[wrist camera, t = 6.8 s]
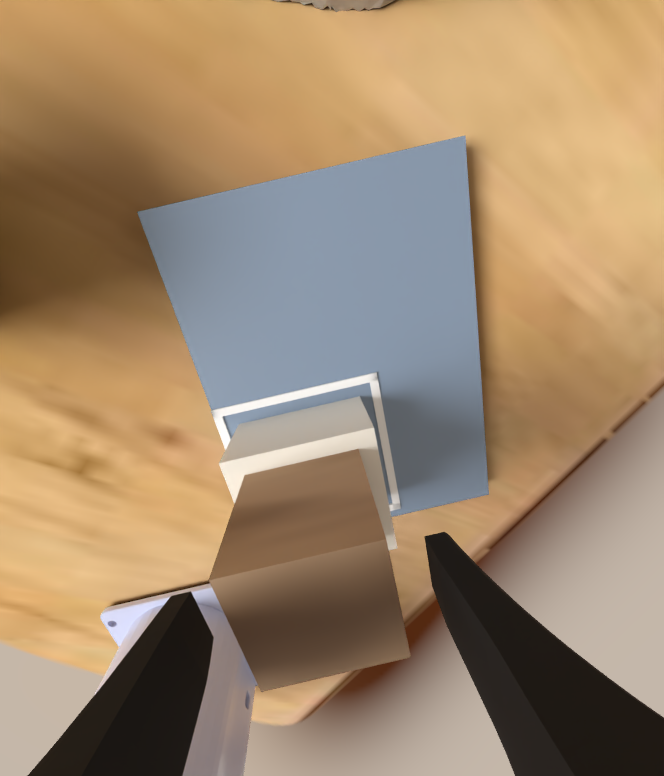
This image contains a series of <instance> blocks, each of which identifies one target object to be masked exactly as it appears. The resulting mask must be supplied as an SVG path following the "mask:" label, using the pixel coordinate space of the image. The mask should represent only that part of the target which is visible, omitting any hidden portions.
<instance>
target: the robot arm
mask: <svg viewBox="0 0 664 776" xmlns="http://www.w3.org/2000/svg"><path fill="white" fill-rule="evenodd" d="M425 542H426V549H427V555H428V562H429V568H430V574H431V581H432V587H433V589H434V592H435V595H436V598H437V600H438V603H439V605H440V608H441V611H442V614H443V616H444V619H445V622H446V624H447V627H448V629H449V631H450V633H451V635H452V637H453V640H454V642H455V644H456V646H457V648H458V650H459V652H460V654H461V656H462V659H463V661H464V663H465V665H466V667H467V669H468V671H469V673H470V675H471V678H472V680H473V682H474V684H475V686H476V688H477V690H478V692H479V694H480V697H481V699H482V701H483V703H484V705H485V707H486V709H487V712H488V714H489V716H490V718H491V720H492V722H493V724H494V726H495V729H496V731H497V733H498V735H499V738H500V740H501V742H502V744H503V747H504V749H505V751H506V754H507V756H508V759H509V761H510V764H511V766H512V769H513V771H514V774H515V776H664V718H663V717H662V716H660V715H659V714H658V713H656V712H655V711H653V710H652V709H651V708H649V707H647V706H646V705H645V704H643V703H642V702H640V701H639V700H638V699H636V698H635V697H634V696H632V695H631V694H629V693H628V692H627V691H625V690H624V689H623V688H621V687H620V686H619V685H617V684H616V683H615V682H613V681H612V680H611V679H609V678H608V677H607V676H605V675H604V674H603V673H601V672H600V671H599V670H597V669H596V668H595V667H593V666H592V665H591V664H590V663H588V662H587V661H586V660H585V659H583V658H582V657H581V656H579V655H578V654H577V653H575V652H574V651H573V650H572V649H571V648H569V647H568V646H567V645H566V644H564V643H563V642H562V641H561V640H559V639H558V638H557V637H556V636H555V635H553V634H552V633H551V632H550V631H549V630H547V629H546V628H545V627H544V626H542V624H540V623H539V622H538V621H537V620H536V619H535V618H533V617H532V616H531V615H530V614H529V613H528V612H526V611H525V610H524V609H523V608H522V607H521V606H520V605H519V604H517V603H516V602H515V601H514V600H513V599H512V598H511V597H510V596H509V595H508V594H507V593H506V592H505V591H503V590H502V589H501V588H500V587H499V586H498V585H497V584H496V583H495V582H494V581H493V580H492V579H491V578H490V577H489V576H488V575H486V573H484V572H483V571H482V570H481V569H480V568H479V566H477V564H476V563H475V562H474V561H473V560H472V559H471V558H470V557H469V556H468V555H467V554H466V553H465V552H464V551H463V550H462V549H461V548H460V547H459V546H458V545H457V543H456V542H455V541H454V540H453V539H452V538H451V537H450V536H449V534H447V533H445V532H442V533H438V534H433V535H429V536H425ZM100 618H101V620H102V622H103V623H104V625H105V626H106V628H107V629H108V631H109V632H110V634H111V636H112V637H113V639H114V640H115V642H116V643H117V645H118V646H119V649H118V651H117V653H116V654H115V656H114V658H113V660H112V662H111V664H110V666H109V668H108V670H107V672H106V673H105V675H104V677H103V679H102V681H101V683H100V685H99V687H98V689H97V691H96V693H95V694H94V697H93V698H92V699H91V700H90V702H89V703H88V704H87V705H86V706H85V708H84V709H83V710H82V711H81V713H80V714H79V715H78V716H77V717H76V719H75V720H74V721H73V723H72V724H71V725H70V726H69V727H68V729H67V730H66V731H65V732H64V734H63V735H62V736H61V738H59V740H58V741H57V742H56V743H55V744H54V746H53V747H52V748H51V749H50V750H49V752H48V753H47V754H46V755H45V756H44V757H43V759H42V760H41V761H40V762H39V763H38V764H37V766H36V767H35V768H34V769H33V770H32V771H31V772H30V774H29V775H28V776H243V774H244V768H245V760H246V753H247V745H248V738H249V731H250V723H251V716H252V708H253V701H254V693H255V686H257V685H258V684H257V682H256V680H255V678H254V675H253V673H252V671H251V669H250V667H249V665H248V663H247V661H246V658H245V656H244V654H243V652H242V650H241V648H240V646H239V644H238V641H237V639H236V637H235V635H234V633H233V631H232V629H231V627H230V625H229V622H228V620H227V618H226V616H225V614H224V612H223V610H222V608H221V605H220V603H219V601H218V599H217V597H216V595H215V593H214V591H213V588H212V586H211V584H205V585H201V586H197V587H192V588H188V589H184V590H179V591H175V592H171V593H166V594H162V595H158V596H153V597H149V598H145V599H140V600H136V601H132V602H127V603H123V604H119V605H114V606H110V607H107V608H105V609H104V610H103V612H102V614H101V616H100Z"/></svg>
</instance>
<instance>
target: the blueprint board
mask: <svg viewBox="0 0 664 776" xmlns="http://www.w3.org/2000/svg"><path fill="white" fill-rule="evenodd" d="M137 213H138V216H139V218H140V221H141V224H142V226H143V229H144V232H145V234H146V237H147V240H148V242H149V245H150V248H151V250H152V253H153V256H154V258H155V261H156V264H157V266H158V269H159V272H160V274H161V277H162V280H163V282H164V285H165V288H166V290H167V293H168V296H169V298H170V301H171V304H172V306H173V309H174V312H175V314H176V317H177V320H178V322H179V325H180V328H181V330H182V333H183V336H184V338H185V341H186V344H187V346H188V349H189V352H190V354H191V357H192V360H193V362H194V365H195V368H196V370H197V373H198V376H199V378H200V381H201V384H202V386H203V389H204V391H205V394H206V397H207V399H208V402H209V405H210V407H211V413H212V415H213V418H214V421H215V423H216V426H217V429H218V431H219V434H220V437H221V439H222V442H223V444H224V447H225V450H226V448H227V446H228V444H229V442H230V440H231V438H232V436H233V434H234V433H235V431H236V429H237V427H238V425H239V424H242V423H246V422H251V421H255V420H259V419H264V418H268V417H272V416H276V415H281V414H285V413H289V412H294V411H298V410H302V409H307V408H311V407H315V406H320V405H324V404H328V403H333V402H337V401H341V400H346V399H350V398H354V397H358V396H360V398H361V400H362V403H363V405H364V407H365V409H366V411H367V413H368V416H369V418H370V420H371V422H372V424H373V426H374V430H375V435H376V440H377V446H378V451H379V456H380V461H381V466H382V471H383V477H384V482H385V487H386V492H387V497H388V502H389V507H390V513H391V517H393V516H398V515H402V514H406V513H411V512H415V511H419V510H424V509H428V508H432V507H437V506H441V505H445V504H450V503H454V502H458V501H463V500H467V499H471V498H476V497H480V496H484V495H488V494H489V490H488V475H487V460H486V444H485V429H484V414H483V399H482V383H481V368H480V353H479V337H478V322H477V307H476V292H475V276H474V261H473V246H472V231H471V215H470V200H469V185H468V170H467V154H466V139H465V136H461V137H457V138H453V139H448V140H444V141H440V142H435V143H431V144H427V145H423V146H418V147H414V148H410V149H405V150H401V151H397V152H392V153H388V154H384V155H380V156H375V157H371V158H367V159H362V160H358V161H354V162H349V163H345V164H341V165H337V166H332V167H328V168H324V169H319V170H315V171H311V172H306V173H302V174H298V175H294V176H289V177H285V178H281V179H276V180H272V181H268V182H263V183H259V184H255V185H251V186H246V187H242V188H238V189H233V190H229V191H225V192H220V193H216V194H212V195H208V196H203V197H199V198H195V199H190V200H186V201H182V202H177V203H173V204H169V205H165V206H160V207H156V208H152V209H147V210H143V211H139V212H137Z"/></svg>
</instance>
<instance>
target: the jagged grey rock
mask: <svg viewBox="0 0 664 776" xmlns="http://www.w3.org/2000/svg"><path fill="white" fill-rule="evenodd" d="M274 1H277V2H279V1H286V0H274ZM290 1H292V2H300V3H302V4H303V5H305V4H309V3H312V4H313V5H314V7H315V8H318V9H322V10H323V9H324V8H325V7H326V6H328V7H329V9H330V10H331V6H332V8H333V9H334V10H335V12H338V11H347V10H350V9H352V8H353V9H355V10H357V11H361V10H362V9H364V8H366V9H367V10H368V11H369V10H370V9H372V8H381V7H383V6H385V5H387V4H389V3H391V2H393V1H395V0H290Z"/></svg>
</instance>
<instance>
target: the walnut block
mask: <svg viewBox="0 0 664 776" xmlns="http://www.w3.org/2000/svg"><path fill="white" fill-rule="evenodd" d="M209 582H210V584H211V586H212V588H213V591H214V593H215V595H216V597H217V599H218V601H219V603H220V605H221V608H222V610H223V612H224V614H225V616H226V618H227V620H228V622H229V625H230V627H231V629H232V631H233V633H234V635H235V637H236V639H237V641H238V644H239V646H240V648H241V650H242V652H243V654H244V656H245V658H246V661H247V663H248V665H249V667H250V669H251V671H252V673H253V675H254V678H255V680H256V682H257V684H258V686H259V688H260V690H261V692H263V691H267V690H271V689H276V688H280V687H284V686H288V685H293V684H297V683H301V682H306V681H310V680H314V679H319V678H323V677H327V676H332V675H336V674H340V673H345V672H349V671H353V670H358V669H362V668H366V667H371V666H375V665H379V664H383V663H387V662H392V661H396V660H401V659H405V658H409V657H411V656H410V651H409V646H408V641H407V636H406V632H405V627H404V622H403V617H402V612H401V608H400V603H399V598H398V593H397V588H396V583H395V579H394V574H393V569H392V564H391V559H390V555H389V550H388V545H387V540H386V537H385V533H384V530H383V527H382V524H381V520H380V517H379V514H378V510H377V507H376V504H375V501H374V497H373V494H372V491H371V488H370V484H369V481H368V478H367V475H366V471H365V468H364V465H363V462H362V458H361V455H360V452H359V449H355V450H351V451H347V452H342V453H338V454H334V455H329V456H325V457H321V458H316V459H312V460H308V461H304V462H299V463H295V464H291V465H286V466H282V467H278V468H273V469H269V470H265V471H260V472H256V473H252V474H248V475H244V478H243V481H242V484H241V487H240V490H239V493H238V496H237V499H236V502H235V505H234V508H233V510H232V513H231V516H230V519H229V522H228V525H227V528H226V531H225V534H224V537H223V540H222V543H221V546H220V549H219V552H218V555H217V558H216V560H215V563H214V566H213V569H212V572H211V575H210V578H209Z"/></svg>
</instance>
